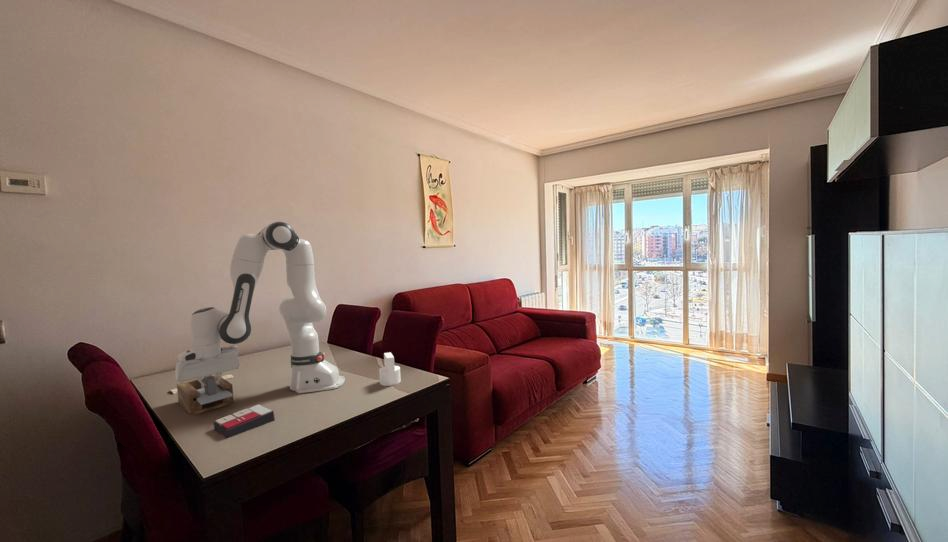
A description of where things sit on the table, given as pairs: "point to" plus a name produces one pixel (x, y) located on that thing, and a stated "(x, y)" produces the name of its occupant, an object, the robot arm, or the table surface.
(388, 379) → the cylinder with rectangular tab
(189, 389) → the walnut box
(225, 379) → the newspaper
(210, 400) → the cover plate
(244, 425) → the black red flat block
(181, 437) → the table surface
